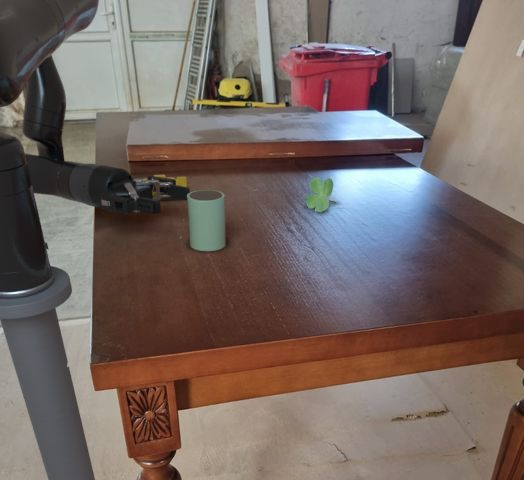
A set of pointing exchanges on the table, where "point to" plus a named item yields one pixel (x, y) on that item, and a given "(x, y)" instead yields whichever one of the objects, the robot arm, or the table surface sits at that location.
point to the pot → (206, 220)
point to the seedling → (319, 194)
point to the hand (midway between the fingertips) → (174, 200)
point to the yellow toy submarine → (179, 181)
